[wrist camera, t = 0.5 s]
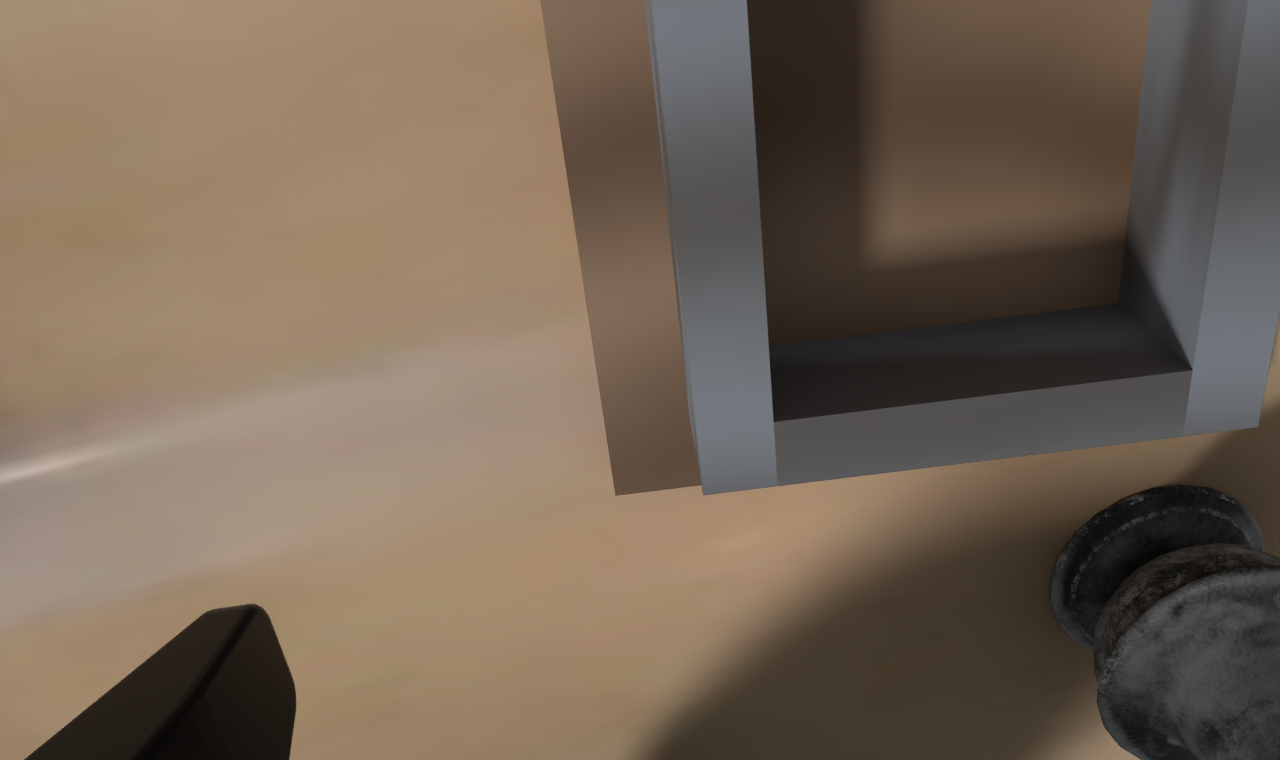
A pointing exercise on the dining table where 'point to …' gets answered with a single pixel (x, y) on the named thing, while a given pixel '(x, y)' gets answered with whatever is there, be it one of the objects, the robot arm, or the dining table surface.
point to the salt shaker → (1177, 624)
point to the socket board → (917, 227)
